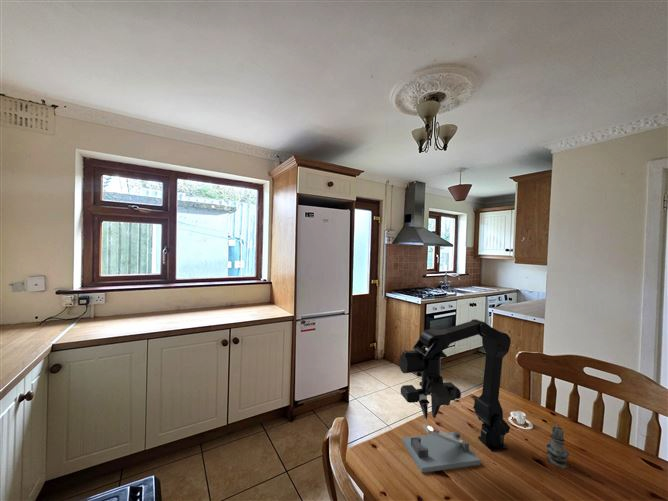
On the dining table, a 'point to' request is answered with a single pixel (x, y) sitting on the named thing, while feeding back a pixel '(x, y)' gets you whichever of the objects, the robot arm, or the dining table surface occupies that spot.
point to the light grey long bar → (443, 434)
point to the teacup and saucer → (520, 419)
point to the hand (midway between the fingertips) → (429, 417)
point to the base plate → (439, 453)
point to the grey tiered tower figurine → (557, 448)
